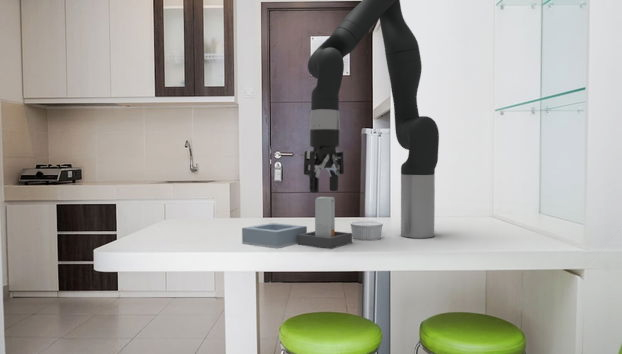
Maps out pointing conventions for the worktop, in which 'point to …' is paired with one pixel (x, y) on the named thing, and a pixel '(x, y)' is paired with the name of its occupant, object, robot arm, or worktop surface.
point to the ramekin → (366, 230)
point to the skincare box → (325, 216)
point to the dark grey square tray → (325, 240)
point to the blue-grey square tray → (272, 235)
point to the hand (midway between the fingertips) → (324, 191)
